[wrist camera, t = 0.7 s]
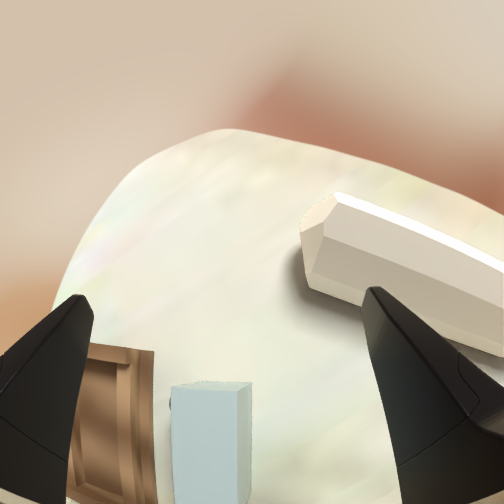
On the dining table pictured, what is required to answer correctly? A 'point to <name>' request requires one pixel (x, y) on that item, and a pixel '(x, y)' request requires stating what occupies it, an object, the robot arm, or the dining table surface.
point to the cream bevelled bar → (405, 269)
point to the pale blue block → (211, 442)
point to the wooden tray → (114, 429)
